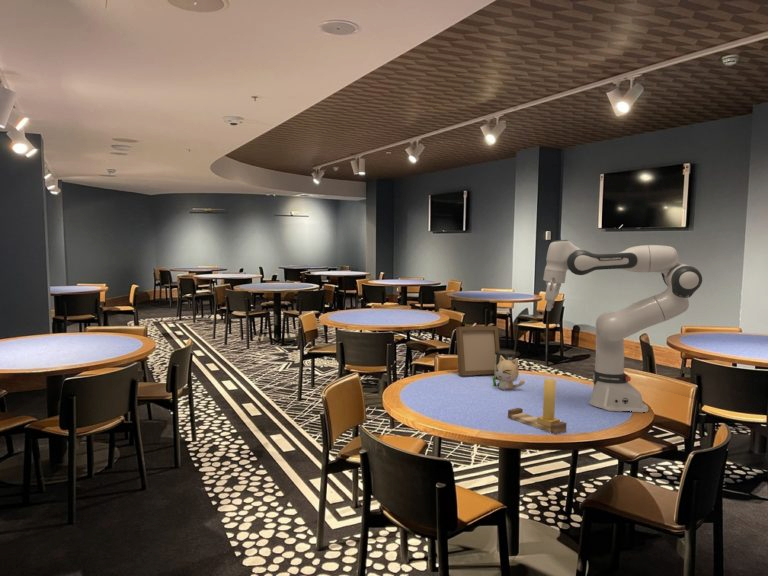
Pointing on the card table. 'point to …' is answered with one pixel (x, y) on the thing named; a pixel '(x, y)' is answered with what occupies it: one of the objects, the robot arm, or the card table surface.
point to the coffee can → (506, 355)
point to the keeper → (548, 404)
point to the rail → (535, 421)
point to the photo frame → (477, 349)
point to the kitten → (507, 374)
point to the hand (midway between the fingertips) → (549, 309)
